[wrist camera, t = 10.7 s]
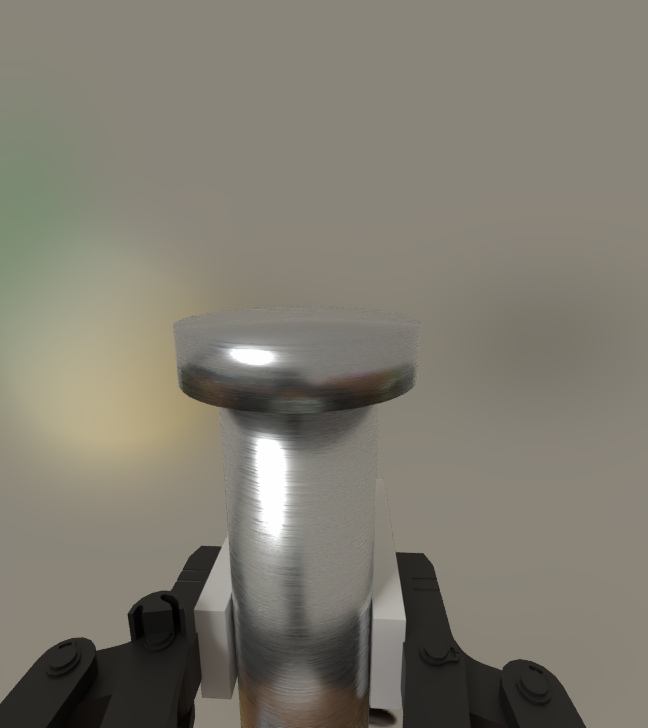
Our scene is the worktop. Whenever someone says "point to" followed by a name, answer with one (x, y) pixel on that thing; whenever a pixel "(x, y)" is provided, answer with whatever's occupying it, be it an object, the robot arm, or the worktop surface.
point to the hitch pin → (300, 494)
